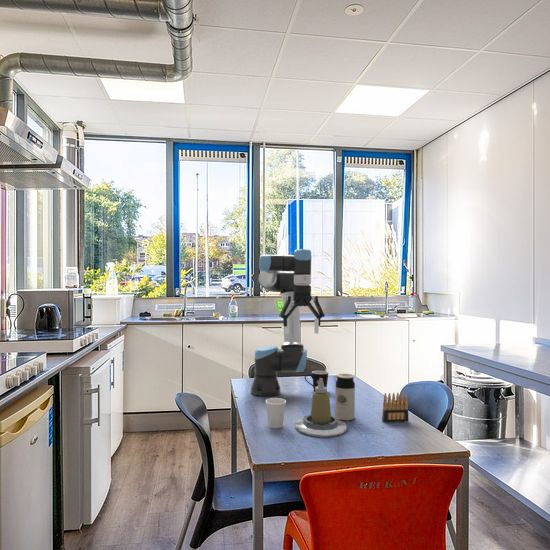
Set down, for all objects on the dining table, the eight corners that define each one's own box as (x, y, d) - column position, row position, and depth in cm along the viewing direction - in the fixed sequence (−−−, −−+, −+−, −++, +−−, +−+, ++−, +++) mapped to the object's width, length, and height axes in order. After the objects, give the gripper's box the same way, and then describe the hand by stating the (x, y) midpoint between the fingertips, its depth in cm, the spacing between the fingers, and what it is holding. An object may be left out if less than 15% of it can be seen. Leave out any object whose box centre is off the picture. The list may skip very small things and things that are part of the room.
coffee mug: (331, 391, 229) (331, 371, 229) (323, 394, 222) (324, 374, 222) (311, 387, 236) (311, 369, 236) (303, 391, 228) (303, 372, 228)
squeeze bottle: (317, 428, 166) (318, 381, 167) (306, 422, 174) (306, 377, 174) (335, 425, 170) (335, 379, 170) (323, 419, 177) (323, 375, 178)
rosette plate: (288, 422, 178) (288, 413, 178) (333, 418, 184) (333, 409, 184) (306, 439, 159) (306, 429, 159) (355, 434, 165) (355, 425, 165)
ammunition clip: (406, 420, 182) (407, 391, 182) (408, 422, 180) (408, 392, 181) (382, 421, 181) (382, 392, 181) (383, 422, 179) (383, 393, 179)
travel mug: (343, 413, 191) (343, 372, 191) (358, 418, 185) (358, 375, 185) (331, 417, 185) (332, 375, 185) (347, 422, 179) (347, 378, 179)
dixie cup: (262, 423, 176) (262, 398, 177) (281, 421, 179) (281, 397, 179) (269, 430, 169) (269, 404, 169) (289, 428, 172) (289, 402, 172)
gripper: (277, 284, 183) (277, 335, 183) (332, 285, 190) (331, 333, 190) (272, 284, 190) (271, 333, 190) (325, 284, 198) (324, 331, 197)
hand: (301, 333), depth 190 cm, fingers open, 13 cm apart
